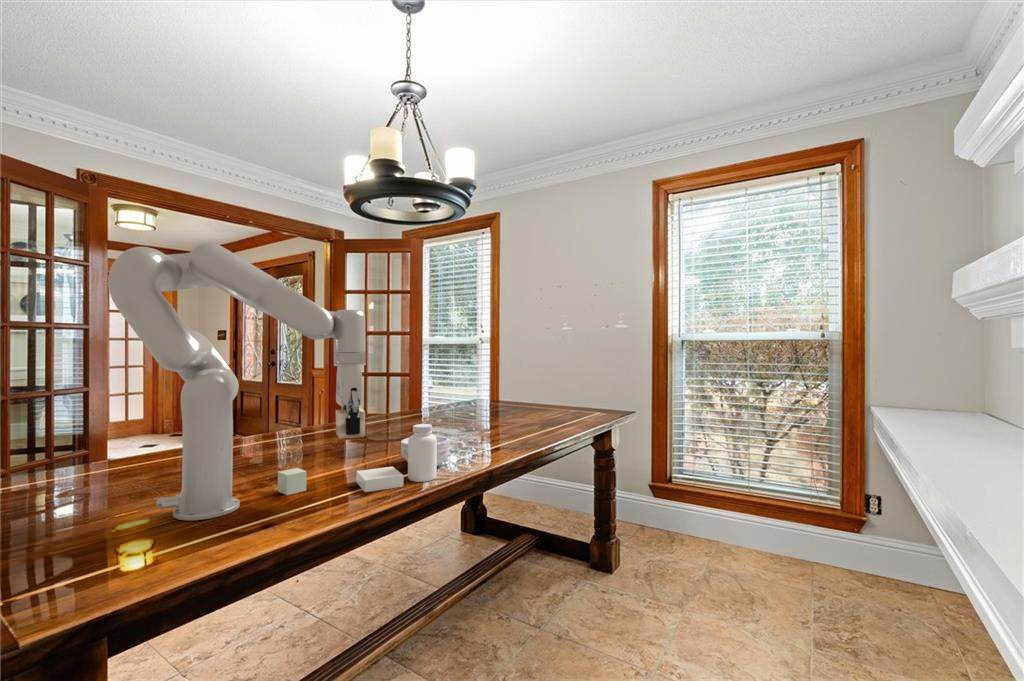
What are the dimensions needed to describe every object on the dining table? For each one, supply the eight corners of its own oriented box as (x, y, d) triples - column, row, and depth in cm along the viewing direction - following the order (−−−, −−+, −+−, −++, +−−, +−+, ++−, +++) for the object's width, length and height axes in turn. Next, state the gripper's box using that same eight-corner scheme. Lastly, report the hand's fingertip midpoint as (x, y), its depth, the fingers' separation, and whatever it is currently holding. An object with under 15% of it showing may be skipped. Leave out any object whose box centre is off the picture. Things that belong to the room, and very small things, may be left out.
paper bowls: (407, 458, 157) (407, 434, 157) (453, 459, 156) (453, 435, 156) (394, 470, 142) (394, 443, 142) (444, 471, 141) (445, 445, 141)
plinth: (365, 492, 121) (365, 480, 121) (356, 481, 129) (356, 470, 129) (403, 486, 126) (403, 475, 126) (392, 477, 135) (392, 466, 135)
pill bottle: (401, 479, 132) (402, 426, 132) (420, 473, 139) (420, 421, 139) (424, 484, 128) (425, 428, 128) (442, 476, 135) (442, 424, 136)
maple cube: (339, 438, 114) (339, 413, 114) (335, 433, 119) (335, 410, 119) (365, 435, 117) (365, 411, 117) (360, 431, 122) (360, 408, 122)
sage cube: (286, 495, 118) (287, 475, 118) (277, 491, 121) (277, 471, 121) (306, 490, 122) (306, 471, 122) (296, 486, 125) (297, 467, 125)
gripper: (328, 358, 124) (329, 427, 124) (339, 361, 109) (340, 440, 109) (358, 358, 127) (359, 425, 127) (373, 360, 112) (373, 436, 112)
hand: (350, 431), depth 118 cm, fingers closed on maple cube, 6 cm apart
